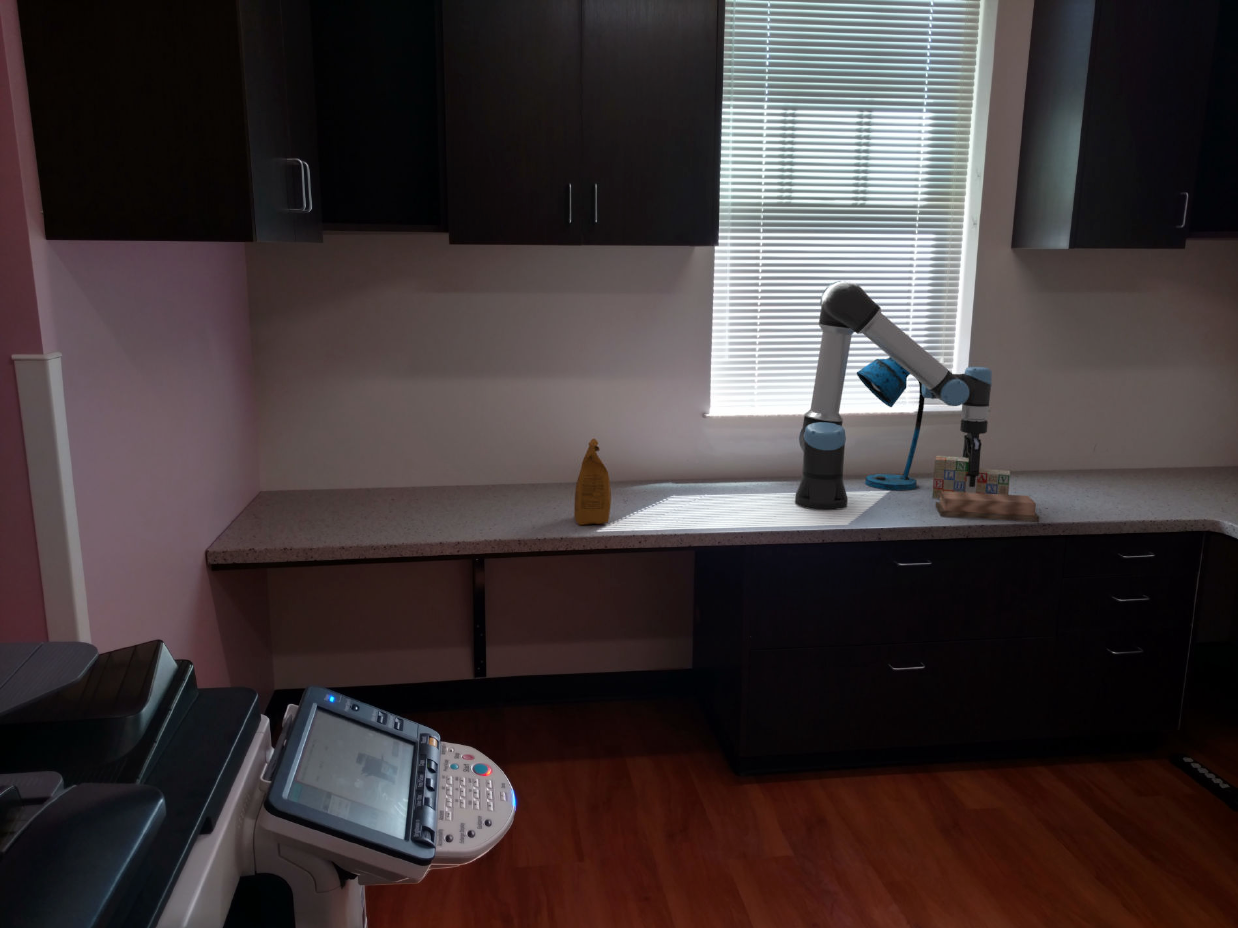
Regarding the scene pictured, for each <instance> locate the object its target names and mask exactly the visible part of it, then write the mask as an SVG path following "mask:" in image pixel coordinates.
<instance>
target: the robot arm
mask: <svg viewBox="0 0 1238 928" xmlns="http://www.w3.org/2000/svg"><path fill="white" fill-rule="evenodd" d="M818 320H819V321H818V326H819V327H820V329H821V330H822V333H821V341H820V347H819V352H818V359H817V365H816V371H815V378H814V385H813V390H812V391H813V392H812V397H811V403H810V404H811V405H810V409H809V410H808V411H806V412H805V413H804V416H803V422H802V428H801V429H800V433H799V436H798V441H799V443H798V444H799V445H800V448H801V450H802V451H803V454H802V455H803V459H802V460H803V461H802V477H801V480H800V482H799V484H798V487H797V491H796V493H795V495H794V496H795V497H794V498H795V499H794V503H795V504H796V505H798V506H799V507H802V508H806V509H813V510H820V511H824V510H825V511H827V510H828V511H831V510H842V509H845V508H847V507H848V494H847V491H846V486H845V484H844V464H845V446H846V440H847V437H846V430H845V428H844V427H843V421H844V419H843V417H842V416H841V415H840V409H841V402H842V395H843V390H844V385H845V380H846V379H845V378H846V371H847V366H848V362H849V361H848V360H849V355H850V349H851V348H850V347H851V341H852V336H853V334H857V335H861V334H862V335H864V336H865V338H867V339H868V340H870V341H871V342H872V343H873V344H875V346H877V347H878V348H879V349H880V350H881V351H882V352H884V353H885V354H886V355H888V356H889V357H891V358H892V359H893V360H895V361H896V362H897V363H898V364H899V365H901V366H902V367H903V368H904V369H905V370H907V371H908V372H909V373H910V374H909V375H912V376H913V378H915V379H916V380H917V381H920V382H921V383H922V395H923V397H924V398H925V399H931V400H934V399H935V400H937V399H938V400H940V401H941V402H943V403H944V404H945V405H947V406H951V407H958V406H961V413H960V414H961V415H960V417H961V418H962V419H961V420H960V432H962V433H964V435H963V437H964V438H963V441H964V442H963V449H962V457H965V458H969V463H968V474H966V476H967V483H966V493H976V483H977V475H978V476H979V469H980V463H981V452H982V451H981V450H982V449H981V448H982V445H983V444H982V440H981V439H980V435H981V434H982V435H984V434H986V433H987V432H988V423H989V422H988V420H987V419H989V413H991V410H992V409H991V408H990V400H991V391H992V385H993V382H992V381H993V380H992V378H993V374H992V370H991V369H990V368H989V367H984V366H983V367H982V366H968V367H966V368H965V371H964V373H953V372H952V371H950V370H949V369H948V368H947V367H946V366H944V365H943V364H942V363H941V362H940V361H939V360H937V359H936V358H935V357H934V356H932V354H930V353H929V352H928V351H927V350H926V349H924V348H923V347H922V346H921V345H920V344H918V342H917V341H915V340H914V339H912V337H910V336H909V335H908V334H907V333H906V332H904V331H903V330H902V328H899V326H897V325H896V324H895V323H893V321H892V320H890V319H889V318H888V317H887V316H886V315H884V314H883V313H882V308H881V306H880V305H878V303H876V302H875V301H874V300H873V299H872V298H871V297H870V296H869V294H867V293H866V291H865V290H864V289H863V288H862V287H861V286H860V285H859V284H857V283H855V282H851V281H846V280H838V281H834V282H833V283H832V282H831V284H829V285H828V286H827V287H826V288H825V289H824V291H823V292H822V294H821V297H820V313H819V319H818ZM965 433H966V434H965Z"/></svg>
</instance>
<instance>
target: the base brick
mask: <svg viewBox="0 0 1238 928" xmlns="http://www.w3.org/2000/svg"><path fill="white" fill-rule="evenodd" d="M1036 506H1037V503H1036V502H1035V501H1034V499H1032V498H1031V496H1029V495H1021V494H1020V495H1019V494H1008V495H1003V494H984V493H964V492H944V491H941V495H940V498H939V501H935V506H934V507H935V508H936V511H937V512H938V514H939V515H940V517H945V518H960V519H962V518H966V519H983V520H999V521H1000V520H1002V521H1017V522H1019V521H1020V522H1037V523H1039V521H1040V515H1039V514H1037V512H1036V508H1037V507H1036Z"/></svg>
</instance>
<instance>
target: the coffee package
mask: <svg viewBox="0 0 1238 928" xmlns="http://www.w3.org/2000/svg"><path fill="white" fill-rule="evenodd" d="M598 445H599V441H597V439H596V438H595V437H594V438H592V439H591V440H590V441H589V442H588V448H587V450H586V453H585V454H584V457H583V460H582V462H581V466H580V471H579V473H578V478H577V480H576V485H575V490H574V491H575V492H574V505H573V506H574V509H573V510H574V511H573V512H574V519H575V521H576V523H577V525H579V526H584V525H585V526H586V525H595V524H597V525H601V524H608V523H609V519H610V513H611V503H612V491H611V490H612V489H611V483H610V474H609V471H608V470H607V468H606V466H605V465H604V463H603V462H602V459H601V458H600V456H599V455H598V454H597V452H599V451H600V449H601V448H600V447H599V446H598Z"/></svg>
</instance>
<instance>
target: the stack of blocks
mask: <svg viewBox="0 0 1238 928" xmlns="http://www.w3.org/2000/svg"><path fill="white" fill-rule="evenodd" d="M968 463H969V458H965V457H963V456H946V455H936V456H935V459H934V467H933V483H932V497H931V498H933V499H940V495H941V491H944V492H964V493H966V483H967V476H966V474H968ZM1010 474H1011V470H1002V469H1001V470H1000V469H990V468H979V476H978V475H977V483H976V493H984V494H1003V495H1009V489H1010V477H1011V475H1010Z"/></svg>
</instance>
